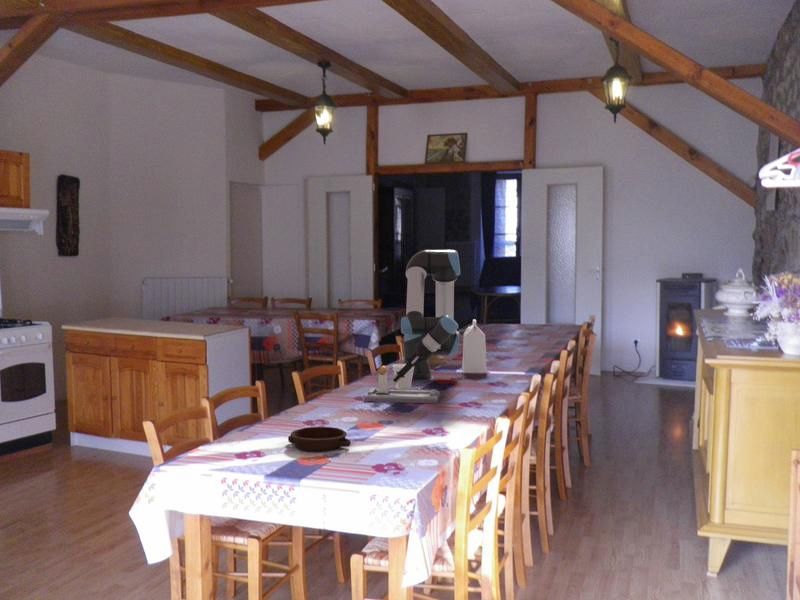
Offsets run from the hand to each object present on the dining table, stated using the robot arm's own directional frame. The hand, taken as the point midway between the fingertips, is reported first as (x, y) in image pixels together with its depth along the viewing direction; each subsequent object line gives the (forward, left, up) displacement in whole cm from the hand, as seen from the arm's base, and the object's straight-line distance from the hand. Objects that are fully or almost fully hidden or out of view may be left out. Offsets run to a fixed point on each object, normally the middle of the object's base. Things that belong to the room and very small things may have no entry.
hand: (389, 386), depth 332 cm
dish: (+76, +18, -6) cm, 79 cm away
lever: (+1, -3, -4) cm, 5 cm away
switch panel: (-3, +5, -5) cm, 8 cm away
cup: (-20, -4, -6) cm, 21 cm away
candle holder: (-91, -26, -6) cm, 94 cm away
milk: (-81, +3, -6) cm, 81 cm away
